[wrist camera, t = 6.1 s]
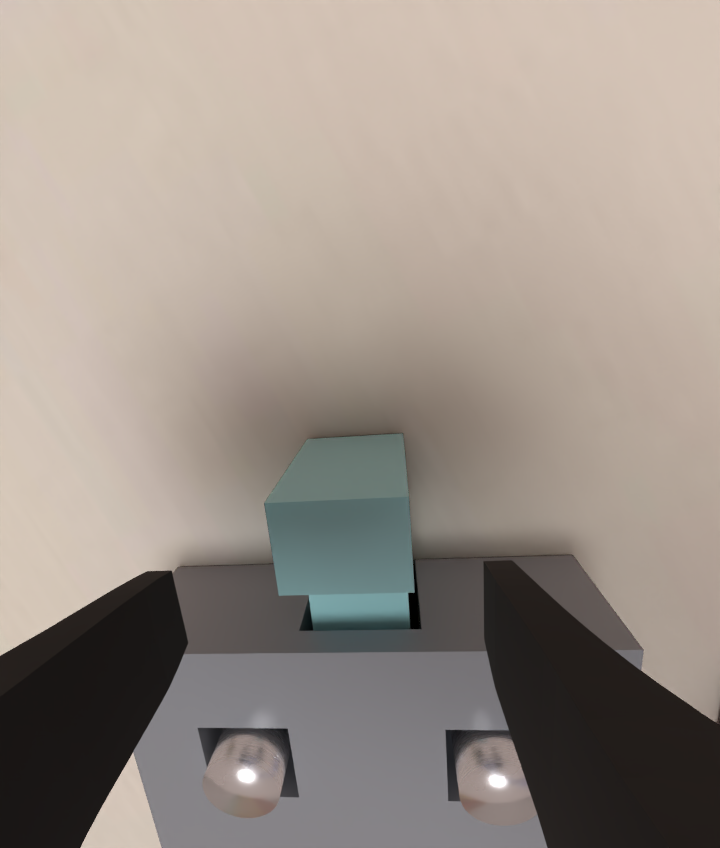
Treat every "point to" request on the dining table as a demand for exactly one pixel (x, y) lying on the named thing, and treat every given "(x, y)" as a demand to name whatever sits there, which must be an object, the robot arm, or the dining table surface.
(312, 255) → the dining table surface
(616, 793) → the robot arm
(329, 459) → the cartridge
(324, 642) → the housing
